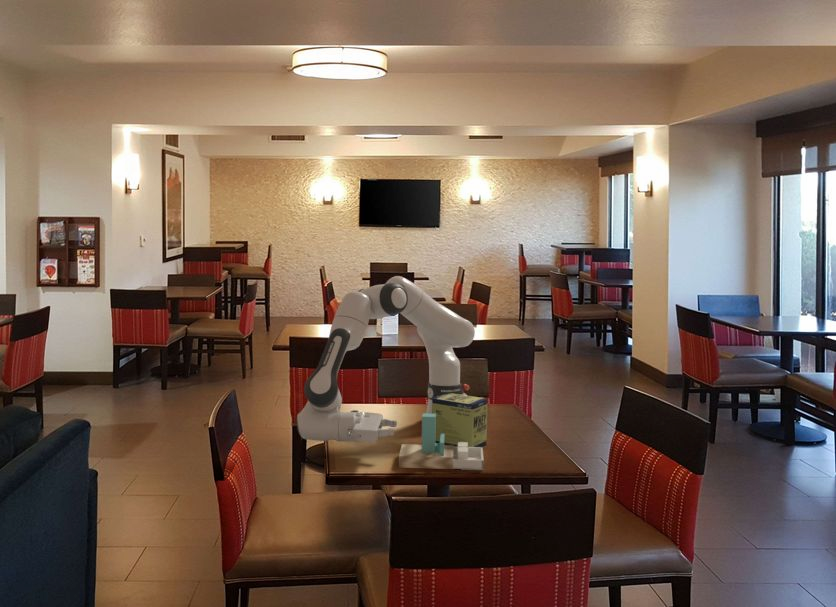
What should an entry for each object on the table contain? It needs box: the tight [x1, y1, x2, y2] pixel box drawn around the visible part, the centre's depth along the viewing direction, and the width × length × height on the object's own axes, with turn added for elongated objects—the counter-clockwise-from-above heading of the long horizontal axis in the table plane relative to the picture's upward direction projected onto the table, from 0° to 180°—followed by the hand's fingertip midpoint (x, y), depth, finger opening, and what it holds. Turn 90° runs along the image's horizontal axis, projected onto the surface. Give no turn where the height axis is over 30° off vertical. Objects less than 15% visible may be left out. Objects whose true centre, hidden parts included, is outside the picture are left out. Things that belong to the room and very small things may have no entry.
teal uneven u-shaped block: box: [421, 412, 445, 456], centre depth 254 cm, size 7×10×11 cm
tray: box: [452, 446, 485, 471], centre depth 255 cm, size 9×14×3 cm, turn 177°
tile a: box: [458, 442, 468, 448], centre depth 257 cm, size 4×4×3 cm
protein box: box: [432, 393, 488, 448], centre depth 274 cm, size 10×16×16 cm
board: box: [398, 443, 453, 470], centre depth 255 cm, size 16×13×4 cm
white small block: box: [458, 447, 468, 459], centre depth 252 cm, size 4×4×3 cm
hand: (395, 427), depth 255 cm, fingers open, 8 cm apart
